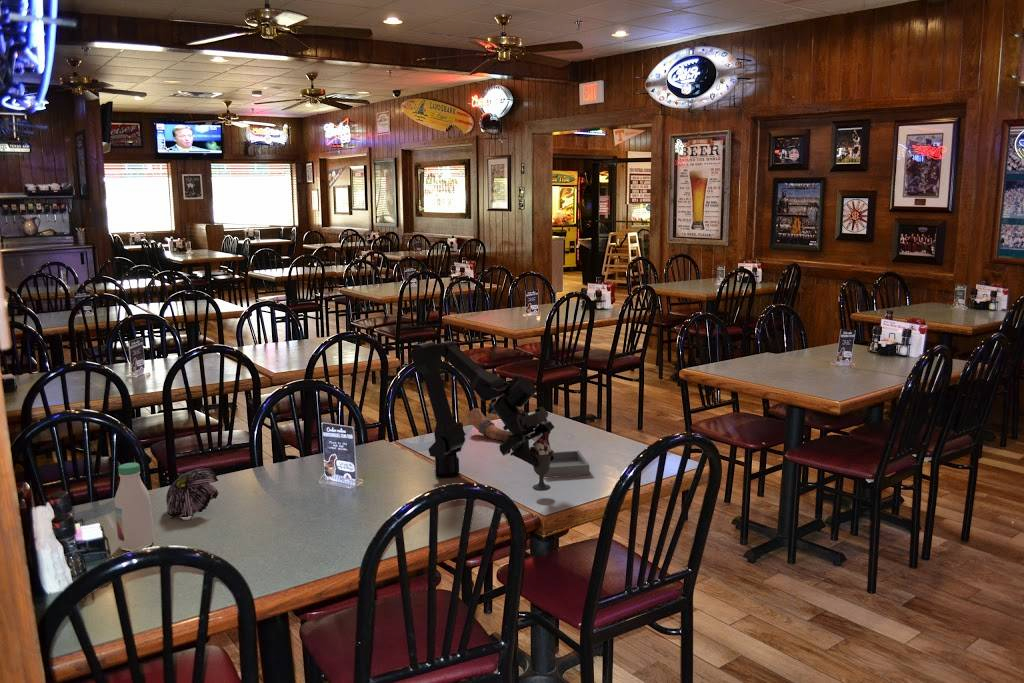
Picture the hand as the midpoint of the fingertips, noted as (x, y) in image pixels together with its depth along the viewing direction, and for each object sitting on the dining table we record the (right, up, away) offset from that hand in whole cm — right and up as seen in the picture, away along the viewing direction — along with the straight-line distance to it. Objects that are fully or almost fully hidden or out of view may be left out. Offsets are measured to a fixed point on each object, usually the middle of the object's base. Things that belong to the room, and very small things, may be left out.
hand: (545, 463), depth 220 cm
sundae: (-1, -7, +2) cm, 7 cm away
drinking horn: (-13, -1, +55) cm, 56 cm away
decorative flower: (-93, -12, -2) cm, 94 cm away
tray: (+6, -5, +25) cm, 27 cm away
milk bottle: (-98, -16, -24) cm, 102 cm away
